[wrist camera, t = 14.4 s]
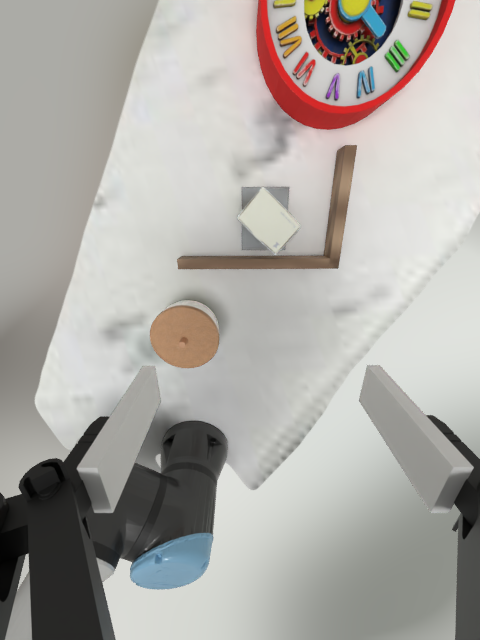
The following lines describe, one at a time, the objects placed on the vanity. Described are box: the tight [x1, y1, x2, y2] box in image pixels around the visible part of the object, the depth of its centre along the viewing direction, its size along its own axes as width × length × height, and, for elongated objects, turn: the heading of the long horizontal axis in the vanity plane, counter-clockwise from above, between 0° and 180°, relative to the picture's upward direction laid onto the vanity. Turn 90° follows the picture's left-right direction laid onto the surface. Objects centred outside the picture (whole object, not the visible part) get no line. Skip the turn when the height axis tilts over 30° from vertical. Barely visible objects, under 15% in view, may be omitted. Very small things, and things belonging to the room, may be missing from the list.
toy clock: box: [256, 0, 455, 130], centre depth 27 cm, size 20×6×20 cm
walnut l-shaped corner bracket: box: [177, 145, 357, 269], centre depth 36 cm, size 16×25×3 cm, turn 90°
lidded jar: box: [150, 300, 219, 368], centre depth 41 cm, size 11×11×9 cm
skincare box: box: [237, 187, 301, 255], centre depth 32 cm, size 6×4×12 cm
